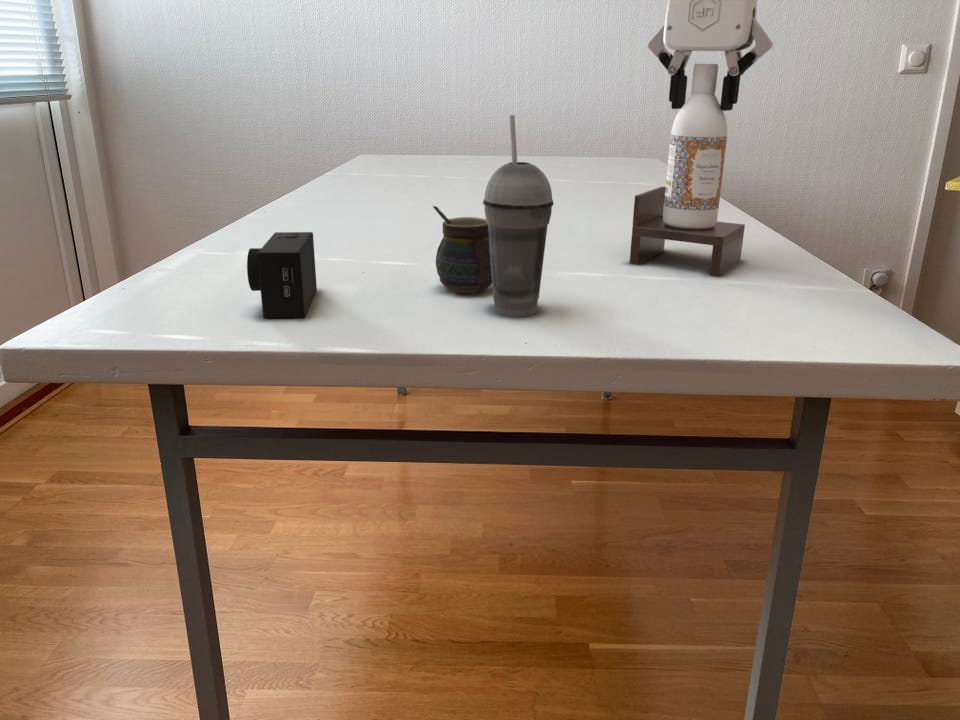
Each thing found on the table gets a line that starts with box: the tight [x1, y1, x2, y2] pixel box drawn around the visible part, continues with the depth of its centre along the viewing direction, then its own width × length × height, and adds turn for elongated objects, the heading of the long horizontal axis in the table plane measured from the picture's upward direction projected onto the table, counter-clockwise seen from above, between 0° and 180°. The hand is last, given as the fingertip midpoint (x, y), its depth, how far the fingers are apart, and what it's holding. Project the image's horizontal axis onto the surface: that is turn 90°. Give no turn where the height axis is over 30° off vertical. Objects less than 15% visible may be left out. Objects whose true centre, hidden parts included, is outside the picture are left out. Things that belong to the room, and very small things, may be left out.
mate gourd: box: [432, 205, 492, 294], centre depth 89 cm, size 7×8×10 cm
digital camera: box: [246, 231, 318, 319], centre depth 84 cm, size 10×5×7 cm, turn 4°
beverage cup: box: [482, 114, 554, 318], centre depth 80 cm, size 7×7×20 cm
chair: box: [629, 186, 746, 277], centre depth 103 cm, size 12×10×9 cm
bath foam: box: [663, 63, 728, 230], centre depth 99 cm, size 7×7×20 cm
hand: (701, 107), depth 98 cm, fingers open, 5 cm apart
